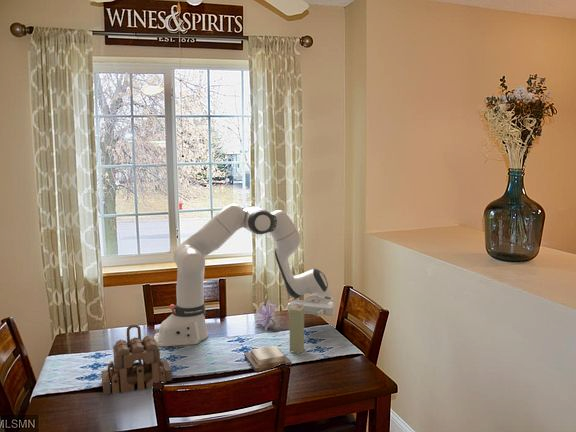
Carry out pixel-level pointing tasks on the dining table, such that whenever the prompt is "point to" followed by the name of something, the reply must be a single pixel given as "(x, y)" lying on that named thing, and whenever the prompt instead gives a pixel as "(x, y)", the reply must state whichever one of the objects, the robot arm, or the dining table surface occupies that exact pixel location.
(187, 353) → the dining table surface
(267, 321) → the water lily
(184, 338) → the robot arm
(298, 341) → the olive pillar
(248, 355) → the plinth
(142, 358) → the wooden puzzle
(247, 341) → the dining table surface
